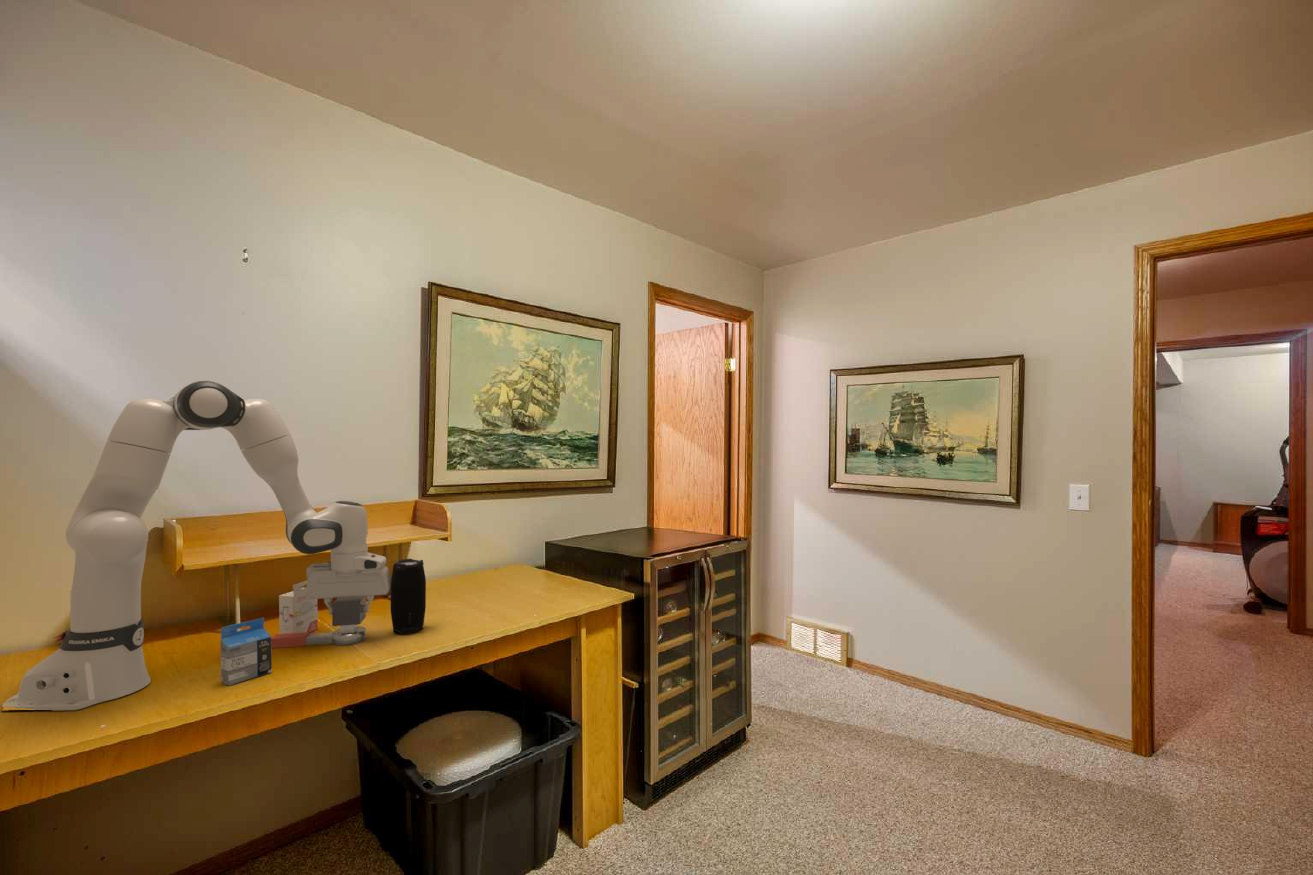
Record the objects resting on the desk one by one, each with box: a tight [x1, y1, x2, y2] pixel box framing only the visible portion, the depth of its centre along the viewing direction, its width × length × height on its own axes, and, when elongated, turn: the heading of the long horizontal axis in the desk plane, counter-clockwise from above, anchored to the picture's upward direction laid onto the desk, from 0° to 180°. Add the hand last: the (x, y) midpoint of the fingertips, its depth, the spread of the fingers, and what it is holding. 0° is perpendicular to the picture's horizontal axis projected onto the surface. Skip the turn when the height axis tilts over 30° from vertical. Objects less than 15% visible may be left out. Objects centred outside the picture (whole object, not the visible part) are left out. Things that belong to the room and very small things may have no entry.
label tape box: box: [220, 617, 273, 686], centre depth 132 cm, size 9×4×12 cm, turn 147°
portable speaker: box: [390, 558, 427, 636], centre depth 165 cm, size 9×9×20 cm
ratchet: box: [271, 624, 367, 649], centre depth 155 cm, size 22×8×6 cm, turn 104°
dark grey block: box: [331, 596, 367, 627], centre depth 157 cm, size 7×7×6 cm
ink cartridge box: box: [278, 579, 319, 634], centre depth 162 cm, size 9×5×15 cm, turn 168°
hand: (349, 612), depth 157 cm, fingers closed on dark grey block, 7 cm apart
